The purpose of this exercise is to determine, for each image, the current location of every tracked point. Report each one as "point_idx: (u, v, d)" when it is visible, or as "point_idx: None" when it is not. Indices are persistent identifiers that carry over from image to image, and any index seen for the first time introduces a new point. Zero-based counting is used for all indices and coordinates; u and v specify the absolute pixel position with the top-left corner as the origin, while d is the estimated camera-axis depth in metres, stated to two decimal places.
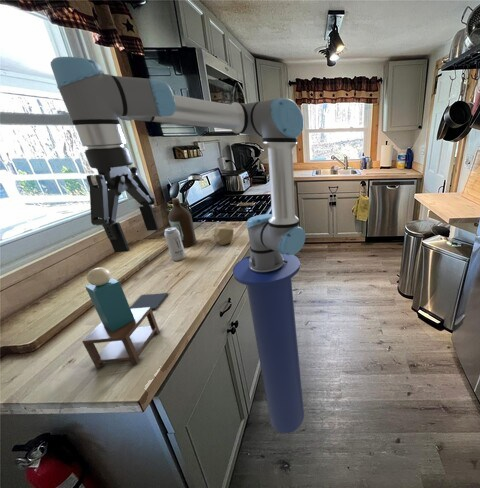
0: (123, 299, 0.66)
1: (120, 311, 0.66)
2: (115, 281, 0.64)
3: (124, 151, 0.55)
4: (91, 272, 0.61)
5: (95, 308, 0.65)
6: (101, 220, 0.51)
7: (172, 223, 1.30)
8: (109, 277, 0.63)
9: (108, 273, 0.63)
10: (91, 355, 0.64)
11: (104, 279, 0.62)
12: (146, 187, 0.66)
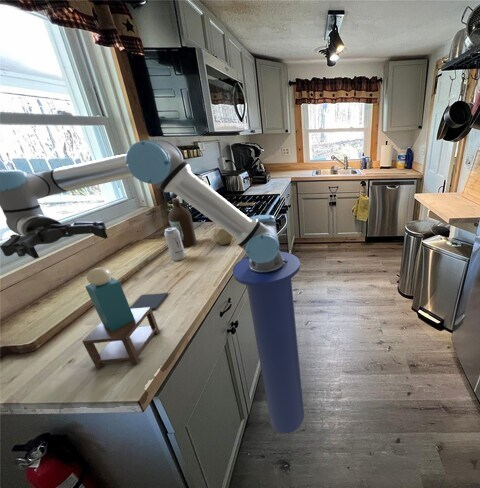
0: (123, 299, 0.66)
1: (120, 311, 0.66)
2: (115, 281, 0.64)
3: (33, 217, 0.71)
4: (91, 272, 0.61)
5: (95, 308, 0.65)
6: None
7: (172, 223, 1.30)
8: (109, 277, 0.63)
9: (108, 273, 0.63)
10: (91, 355, 0.64)
11: (104, 279, 0.62)
12: (89, 222, 0.75)
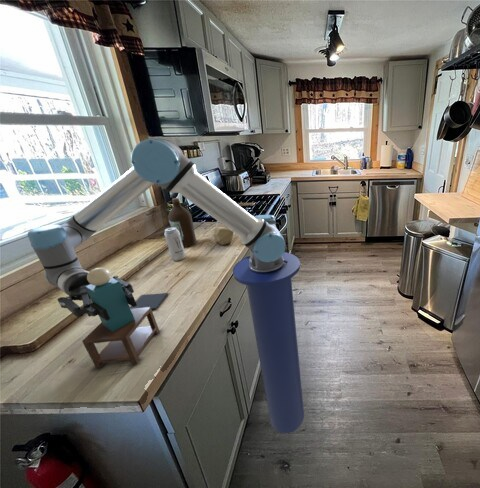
0: (123, 299, 0.66)
1: (120, 311, 0.66)
2: (115, 281, 0.64)
3: (74, 275, 0.72)
4: (91, 272, 0.61)
5: None
6: None
7: (172, 223, 1.30)
8: (109, 277, 0.63)
9: (108, 273, 0.63)
10: (91, 355, 0.64)
11: (104, 279, 0.62)
12: (121, 281, 0.72)
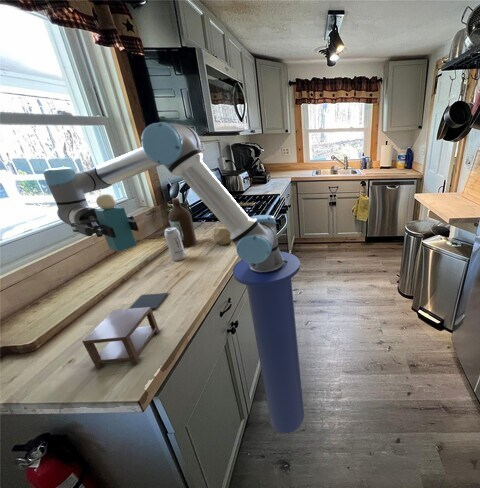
0: (127, 224, 0.76)
1: (124, 235, 0.76)
2: (120, 207, 0.75)
3: (84, 208, 0.82)
4: (100, 196, 0.71)
5: None
6: (85, 229, 0.72)
7: (172, 223, 1.30)
8: (115, 203, 0.74)
9: (114, 199, 0.73)
10: (91, 355, 0.64)
11: (111, 203, 0.72)
12: None
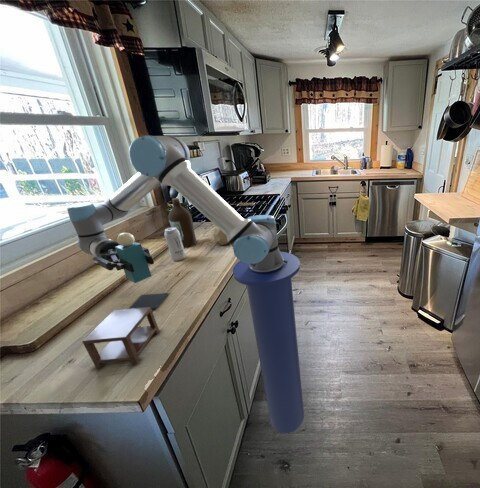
0: (143, 258, 0.85)
1: (141, 267, 0.85)
2: (137, 244, 0.83)
3: (103, 241, 0.91)
4: (120, 235, 0.80)
5: None
6: (106, 264, 0.81)
7: (172, 223, 1.30)
8: (133, 240, 0.82)
9: (132, 237, 0.82)
10: (91, 355, 0.64)
11: (130, 241, 0.81)
12: None
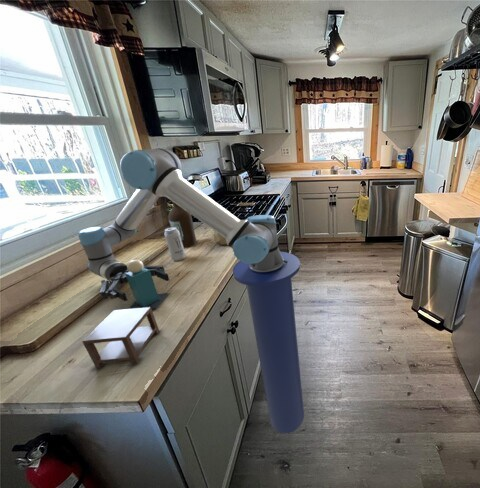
0: (152, 283, 0.89)
1: (150, 292, 0.89)
2: (146, 270, 0.87)
3: (113, 265, 0.94)
4: (130, 263, 0.84)
5: None
6: None
7: (172, 223, 1.30)
8: (142, 266, 0.86)
9: (142, 263, 0.86)
10: (91, 355, 0.64)
11: (139, 268, 0.85)
12: (152, 266, 0.98)
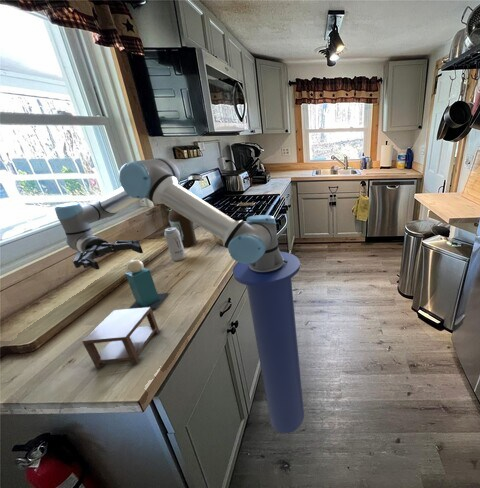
0: (152, 283, 0.89)
1: (150, 292, 0.89)
2: (146, 270, 0.87)
3: (89, 238, 0.97)
4: (130, 263, 0.84)
5: None
6: None
7: (172, 223, 1.30)
8: (142, 266, 0.86)
9: (142, 263, 0.86)
10: (91, 355, 0.64)
11: (139, 268, 0.85)
12: (128, 240, 1.01)
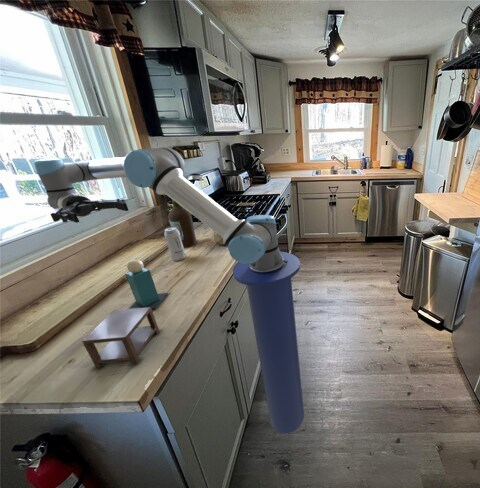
0: (152, 283, 0.89)
1: (150, 292, 0.89)
2: (146, 270, 0.87)
3: (70, 195, 0.91)
4: (130, 263, 0.84)
5: None
6: None
7: (172, 223, 1.30)
8: (142, 266, 0.86)
9: (142, 263, 0.86)
10: (91, 355, 0.64)
11: (139, 268, 0.85)
12: (113, 199, 0.94)
